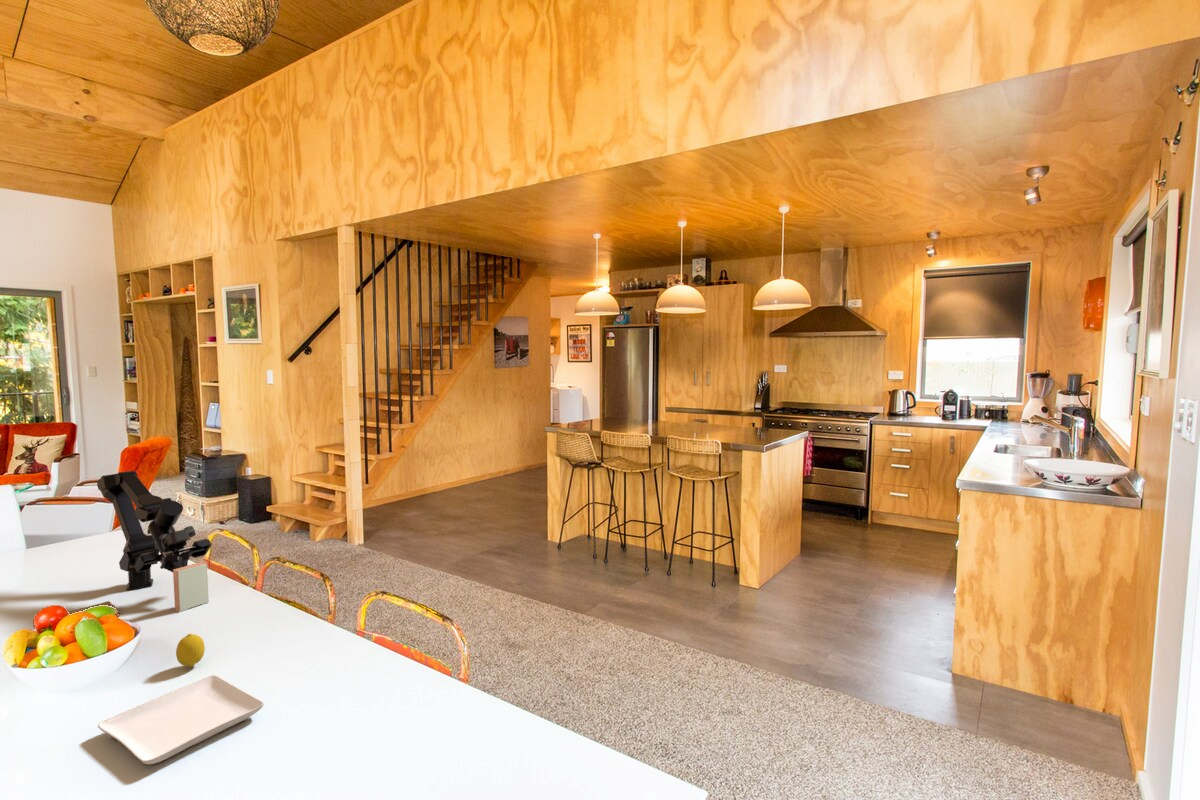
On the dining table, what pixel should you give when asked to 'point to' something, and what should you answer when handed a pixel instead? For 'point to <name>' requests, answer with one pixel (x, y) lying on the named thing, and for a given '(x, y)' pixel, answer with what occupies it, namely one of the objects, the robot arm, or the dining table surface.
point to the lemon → (190, 650)
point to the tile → (190, 586)
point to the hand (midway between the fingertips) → (185, 577)
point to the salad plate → (181, 718)
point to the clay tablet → (92, 606)
